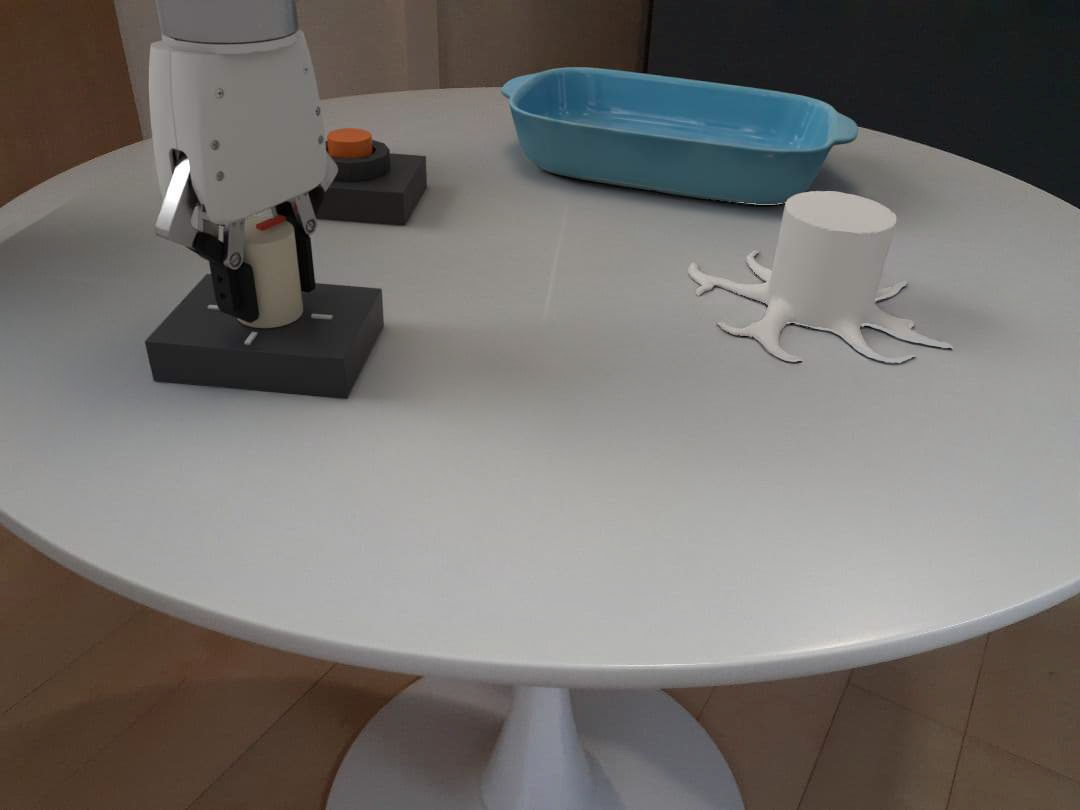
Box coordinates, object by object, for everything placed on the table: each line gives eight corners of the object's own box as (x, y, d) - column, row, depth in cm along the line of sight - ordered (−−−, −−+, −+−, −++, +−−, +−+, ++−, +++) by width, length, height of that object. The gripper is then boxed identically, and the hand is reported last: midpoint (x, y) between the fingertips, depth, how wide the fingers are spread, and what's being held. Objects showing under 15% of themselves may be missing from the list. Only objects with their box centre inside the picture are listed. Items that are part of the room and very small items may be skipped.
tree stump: (920, 268, 80) (947, 178, 76) (967, 384, 64) (1005, 280, 60) (690, 242, 83) (703, 154, 78) (681, 349, 67) (696, 246, 62)
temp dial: (269, 335, 60) (257, 245, 57) (222, 315, 62) (207, 228, 58) (316, 309, 63) (307, 223, 60) (270, 291, 65) (259, 207, 62)
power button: (323, 159, 83) (321, 140, 82) (335, 145, 87) (334, 126, 86) (366, 162, 83) (365, 143, 82) (377, 148, 87) (376, 129, 86)
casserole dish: (844, 157, 104) (859, 93, 100) (842, 231, 86) (860, 157, 82) (532, 118, 112) (535, 56, 108) (471, 178, 94) (471, 107, 90)
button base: (274, 216, 84) (268, 162, 81) (308, 178, 92) (303, 128, 89) (404, 226, 83) (402, 173, 80) (427, 187, 91) (425, 137, 89)
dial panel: (153, 380, 61) (143, 339, 59) (213, 309, 69) (206, 271, 67) (347, 398, 60) (343, 356, 58) (384, 324, 68) (381, 286, 66)
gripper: (287, -17, 60) (314, 245, 70) (51, 26, 47) (125, 335, 58) (377, 0, 56) (391, 271, 67) (149, 49, 44) (209, 371, 54)
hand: (267, 298), depth 62 cm, fingers closed on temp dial, 4 cm apart
